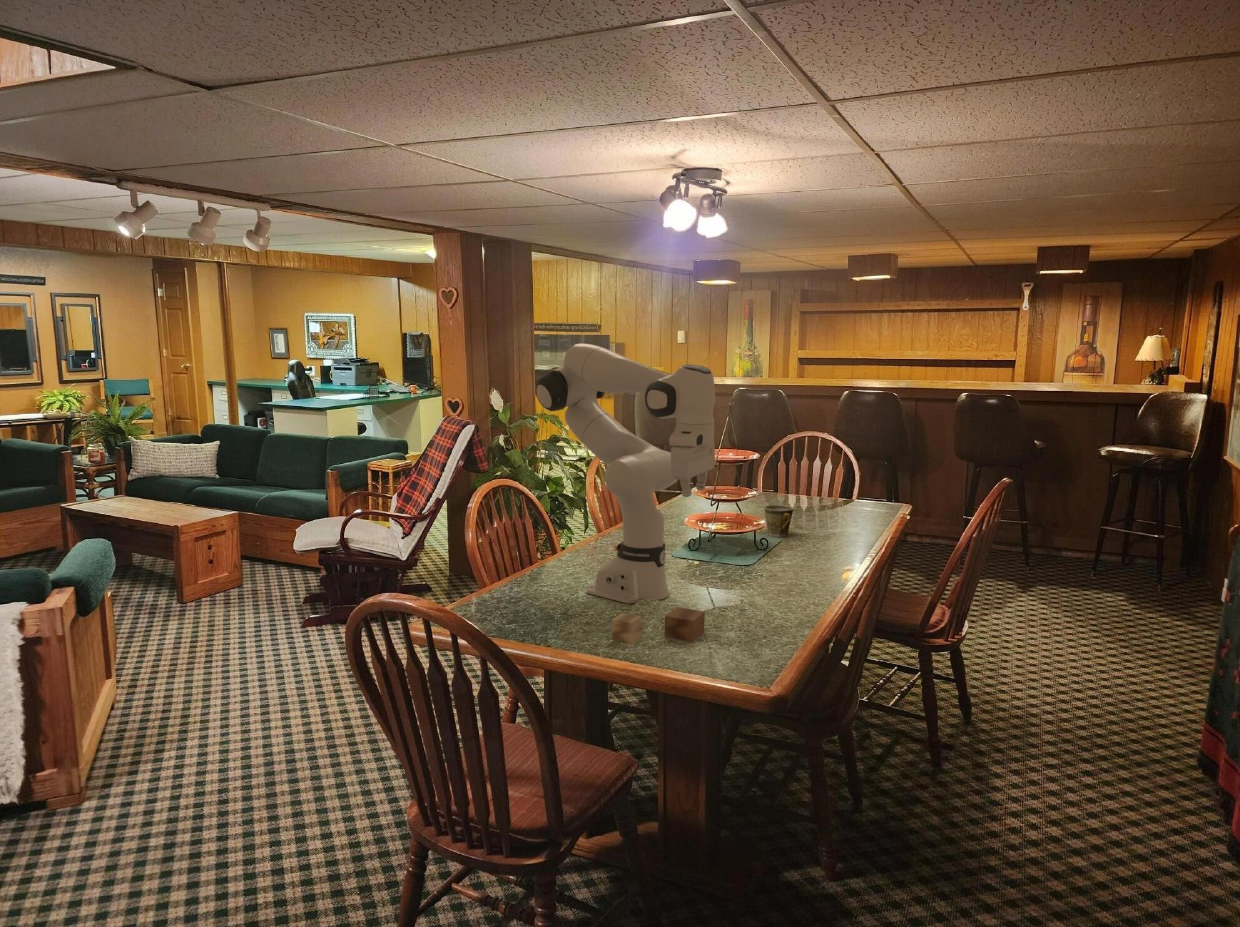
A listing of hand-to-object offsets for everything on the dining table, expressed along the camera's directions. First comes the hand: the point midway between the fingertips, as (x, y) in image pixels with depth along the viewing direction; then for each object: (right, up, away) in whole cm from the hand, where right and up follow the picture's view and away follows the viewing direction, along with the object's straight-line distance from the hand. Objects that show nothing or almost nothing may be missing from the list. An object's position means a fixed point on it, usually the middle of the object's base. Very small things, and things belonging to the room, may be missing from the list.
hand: (693, 493), depth 189 cm
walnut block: (-2, -33, -4) cm, 33 cm away
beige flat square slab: (-2, -34, -3) cm, 34 cm away
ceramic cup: (+39, -19, +95) cm, 105 cm away
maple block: (-16, -34, -5) cm, 38 cm away
